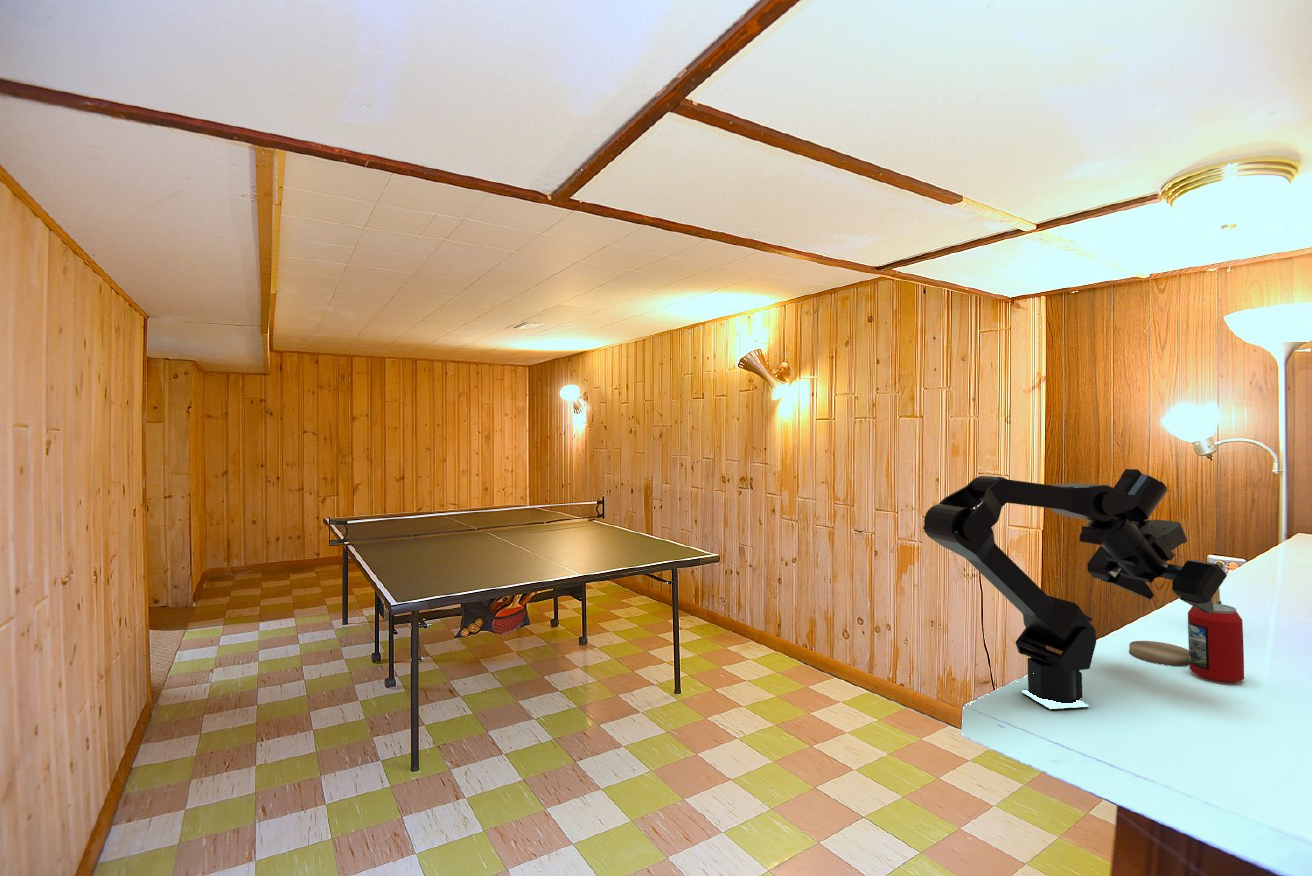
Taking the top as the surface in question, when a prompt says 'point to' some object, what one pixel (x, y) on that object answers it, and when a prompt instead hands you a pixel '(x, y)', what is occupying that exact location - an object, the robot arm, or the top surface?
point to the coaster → (1159, 653)
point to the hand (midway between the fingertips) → (1179, 604)
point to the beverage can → (1216, 644)
